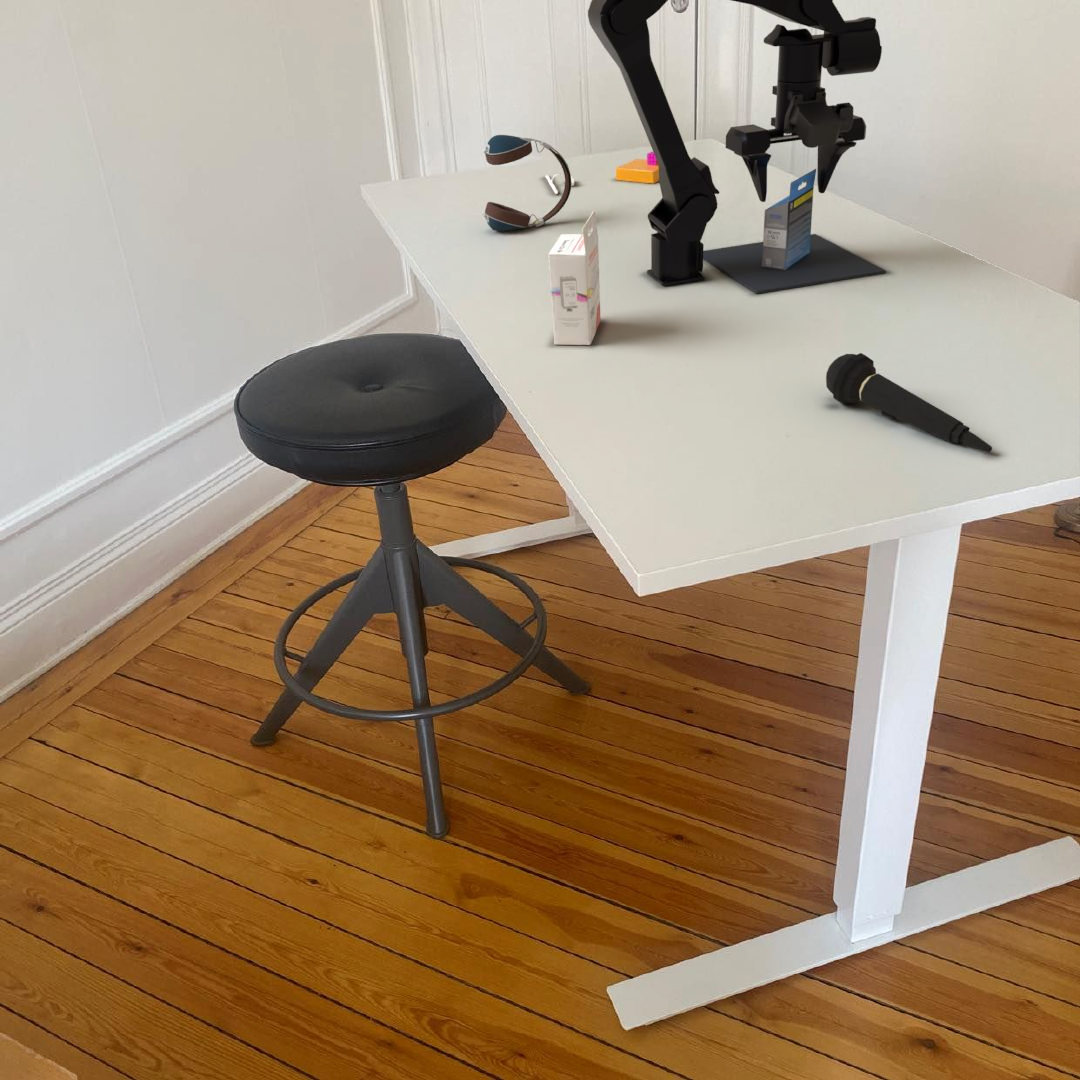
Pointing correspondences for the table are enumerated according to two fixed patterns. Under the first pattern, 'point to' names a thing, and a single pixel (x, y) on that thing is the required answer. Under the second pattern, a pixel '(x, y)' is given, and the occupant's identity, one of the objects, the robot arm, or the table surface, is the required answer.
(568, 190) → the headphones
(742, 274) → the desk mat
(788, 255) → the blue epson carton
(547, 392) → the table surface
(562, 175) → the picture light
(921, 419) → the microphone
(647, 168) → the orange and magenta block
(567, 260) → the ink cartridge box
